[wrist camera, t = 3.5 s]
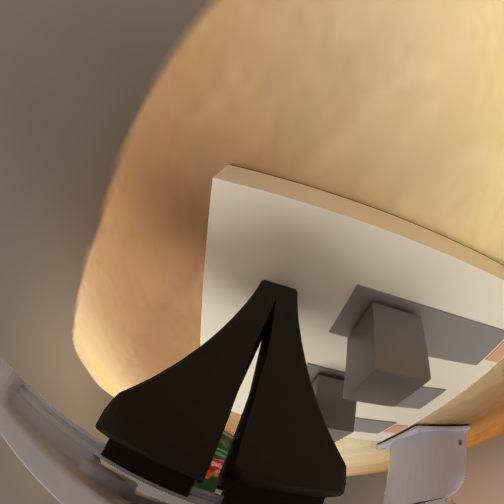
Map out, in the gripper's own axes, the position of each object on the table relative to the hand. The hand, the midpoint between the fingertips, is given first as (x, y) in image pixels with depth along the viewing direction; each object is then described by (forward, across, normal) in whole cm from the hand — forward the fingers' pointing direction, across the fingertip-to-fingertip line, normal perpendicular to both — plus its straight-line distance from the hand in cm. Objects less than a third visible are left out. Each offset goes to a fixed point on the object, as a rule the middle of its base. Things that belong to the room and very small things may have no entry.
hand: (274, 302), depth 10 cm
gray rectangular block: (0, -5, +6) cm, 8 cm away
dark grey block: (0, -5, 0) cm, 5 cm away
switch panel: (+2, -6, +6) cm, 9 cm away
